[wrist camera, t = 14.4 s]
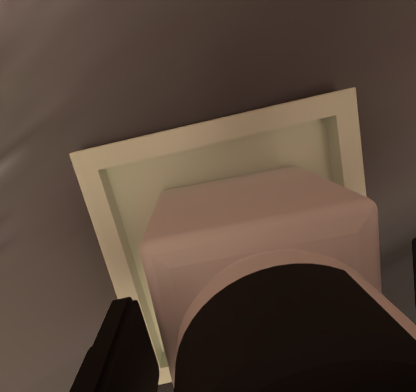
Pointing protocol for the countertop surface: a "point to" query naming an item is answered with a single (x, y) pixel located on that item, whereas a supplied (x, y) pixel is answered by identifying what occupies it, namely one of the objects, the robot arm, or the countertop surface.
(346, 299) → the medicine bottle
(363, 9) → the countertop surface
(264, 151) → the tray
